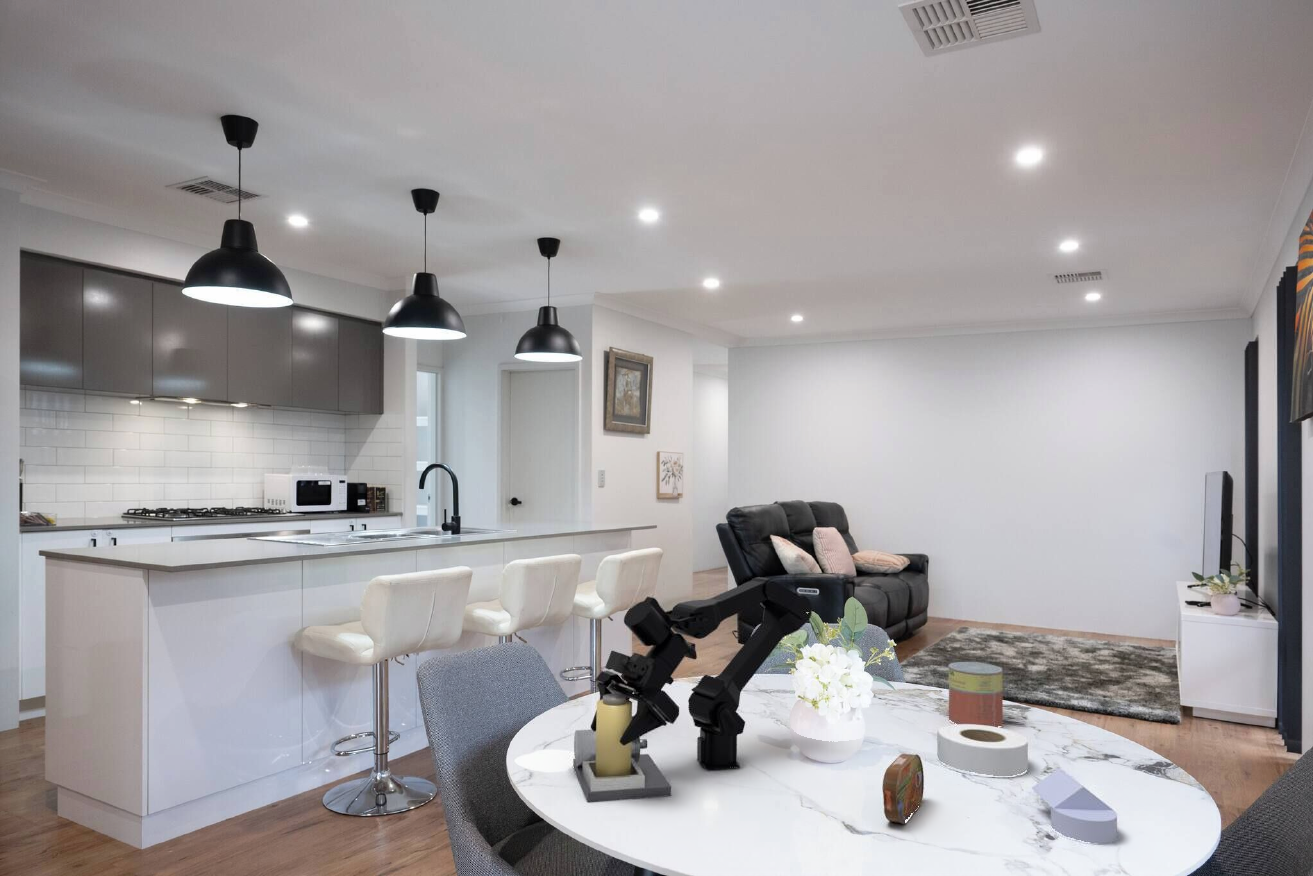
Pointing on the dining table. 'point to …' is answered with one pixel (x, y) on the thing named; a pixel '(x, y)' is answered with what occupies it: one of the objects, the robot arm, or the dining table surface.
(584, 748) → the motor mount
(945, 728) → the roll of tape
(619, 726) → the bottle
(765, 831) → the dining table surface
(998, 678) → the canned food
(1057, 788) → the wedge on round base
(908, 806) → the tin
